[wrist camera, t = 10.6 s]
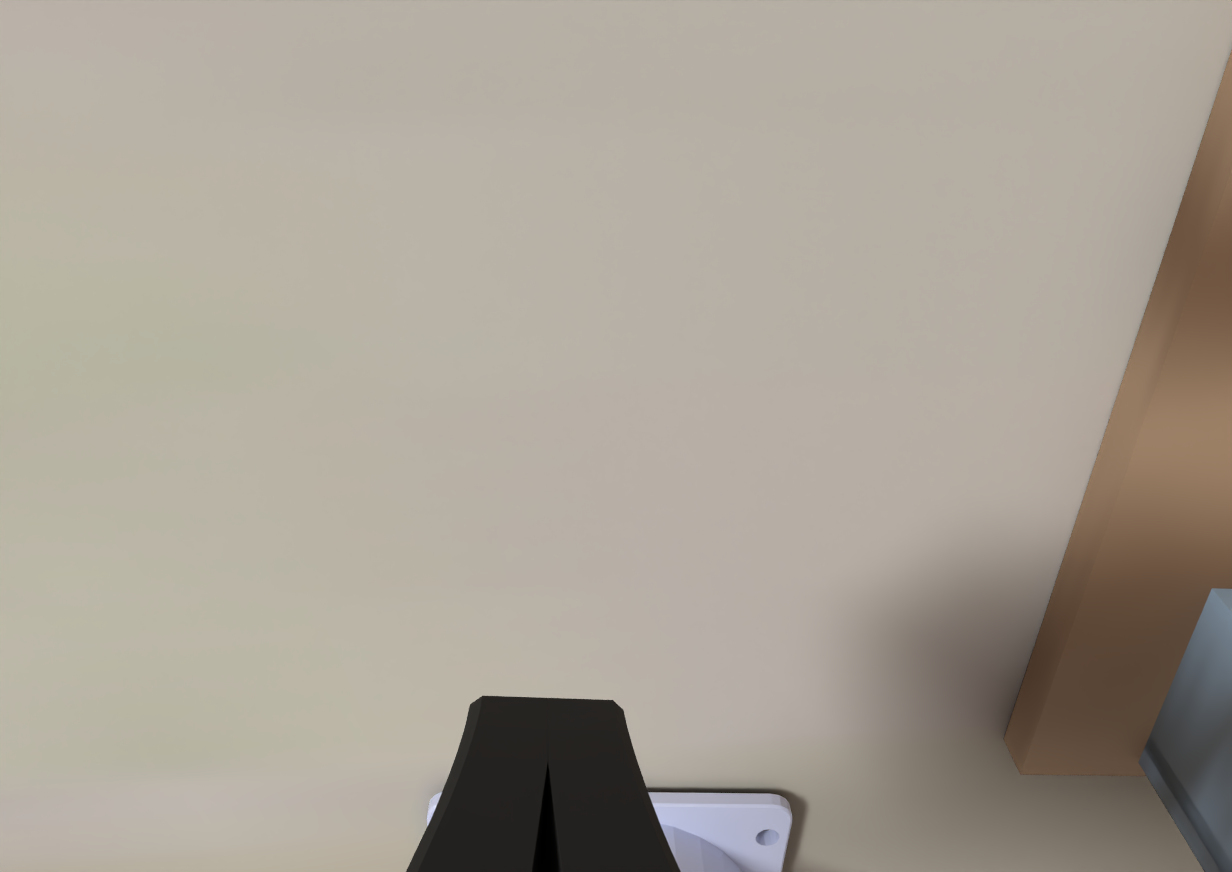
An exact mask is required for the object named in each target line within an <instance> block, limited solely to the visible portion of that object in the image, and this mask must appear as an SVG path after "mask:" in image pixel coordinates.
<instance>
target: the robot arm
mask: <svg viewBox="0 0 1232 872" xmlns="http://www.w3.org/2000/svg"><path fill="white" fill-rule="evenodd" d="M791 825H792V813H791V808H790V804H789V802H788V801H787V800H786V798H784V797H782V796H780V795H776V794H763V793H671V792H648V791H647V788H646V786H645V783H644V780H643V777H642V774H641V771H640V768H639V765H638V762H637V759H636V756H635V753H634V750H633V746H632V743H631V739H630V736H629V732H628V729H627V725H626V720H625V716H624V711H623V709H622V708H621V707H620V706H618V705H617V704H616V703H615V702H614V701H613V700H591V699H561V698H532V697H502V696H482V697H480V698H479V699H477V700H476V701H475V702H473V703H472V704H470V707H469V712H468V717H467V721H466V725H465V729H464V732H463V736H462V739H461V742H460V745H459V749H458V752H457V755H456V757H455V760H454V763H453V766H452V769H451V771H450V774H449V777H448V779H447V782H446V784H445V787H444V789H443V791H442V792H440V793H438V794H436V795H434V796H433V797H432V799H431V800H430V802H429V807H428V814H427V829H426V831H425V833H424V835H423V837H422V839H421V841H420V843H419V846H418V848H417V850H416V852H415V854H414V856H413V858H412V860H411V862H410V865H409V867H408V869H407V871H406V872H782V868H783V864H784V859H785V854H786V849H787V844H788V840H789V835H790V830H791ZM768 829H770V830H768ZM763 830H768V831H763Z"/></svg>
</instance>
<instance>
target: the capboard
mask: <svg viewBox="0 0 1232 872" xmlns="http://www.w3.org/2000/svg"><path fill="white" fill-rule="evenodd" d="M1004 741H1005V743H1006V745H1007V747H1008V749H1009V751H1010V754H1011V756H1012V758H1013V760H1014V762H1015V764H1016V766H1017V768H1018V770H1019V772H1020V774H1026V775H1107V776H1147V777H1148V779H1149V781H1150V782H1151V784H1152V786H1153V787H1154V789H1155V791H1156V792H1157V794H1158V796H1159V797H1160V799H1161V800H1162V802H1163V804H1164V805H1165V807H1166V809H1167V810H1168V812H1169V814H1170V815H1171V817H1172V819H1173V820H1174V822H1175V824H1176V825H1177V827H1178V829H1179V830H1180V832H1181V833H1182V835H1183V837H1184V838H1185V840H1186V842H1187V843H1188V845H1189V847H1190V848H1191V850H1192V852H1193V853H1194V855H1195V857H1196V858H1197V860H1198V861H1199V863H1200V865H1201V866H1202V868H1203V870H1204V871H1205V872H1232V50H1231V54H1230V57H1229V60H1228V63H1227V66H1226V69H1225V72H1224V75H1223V78H1222V81H1221V84H1220V87H1219V90H1218V93H1217V96H1216V99H1215V102H1214V105H1213V108H1212V111H1211V114H1210V117H1209V120H1208V123H1207V126H1206V129H1205V132H1204V135H1203V138H1202V141H1201V144H1200V147H1199V150H1198V153H1197V156H1196V159H1195V162H1194V165H1193V168H1192V171H1191V174H1190V177H1189V180H1188V184H1187V187H1186V190H1185V193H1184V196H1183V199H1182V202H1181V205H1180V208H1179V211H1178V214H1177V217H1176V220H1175V223H1174V226H1173V229H1172V232H1171V235H1170V238H1169V241H1168V244H1167V247H1166V250H1165V253H1164V256H1163V259H1162V262H1161V265H1160V268H1159V271H1158V274H1157V277H1156V280H1155V283H1154V286H1153V289H1152V292H1151V295H1150V298H1149V301H1148V304H1147V307H1146V310H1145V313H1144V317H1143V320H1142V323H1141V326H1140V329H1139V332H1138V335H1137V338H1136V341H1135V344H1134V347H1133V350H1132V353H1131V356H1130V359H1129V362H1128V365H1127V368H1126V371H1125V374H1124V377H1123V380H1122V383H1121V386H1120V389H1119V392H1118V395H1117V398H1116V401H1115V404H1114V407H1113V410H1112V413H1111V416H1110V419H1109V422H1108V425H1107V428H1106V431H1105V434H1104V437H1103V440H1102V443H1101V447H1100V450H1099V453H1098V456H1097V459H1096V462H1095V465H1094V468H1093V471H1092V474H1091V477H1090V480H1089V483H1088V486H1087V489H1086V492H1085V495H1084V498H1083V501H1082V504H1081V507H1080V510H1079V513H1078V516H1077V519H1076V522H1075V525H1074V528H1073V531H1072V534H1071V537H1070V540H1069V543H1068V546H1067V549H1066V552H1065V555H1064V558H1063V561H1062V564H1061V567H1060V570H1059V573H1058V577H1057V580H1056V583H1055V586H1054V589H1053V592H1052V595H1051V598H1050V601H1049V604H1048V607H1047V610H1046V613H1045V616H1044V619H1043V622H1042V625H1041V628H1040V631H1039V634H1038V637H1037V640H1036V643H1035V646H1034V649H1033V652H1032V655H1031V658H1030V661H1029V664H1028V667H1027V670H1026V673H1025V676H1024V679H1023V682H1022V685H1021V688H1020V691H1019V694H1018V697H1017V700H1016V703H1015V707H1014V710H1013V713H1012V716H1011V719H1010V722H1009V725H1008V728H1007V731H1006V734H1005V737H1004Z"/></svg>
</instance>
